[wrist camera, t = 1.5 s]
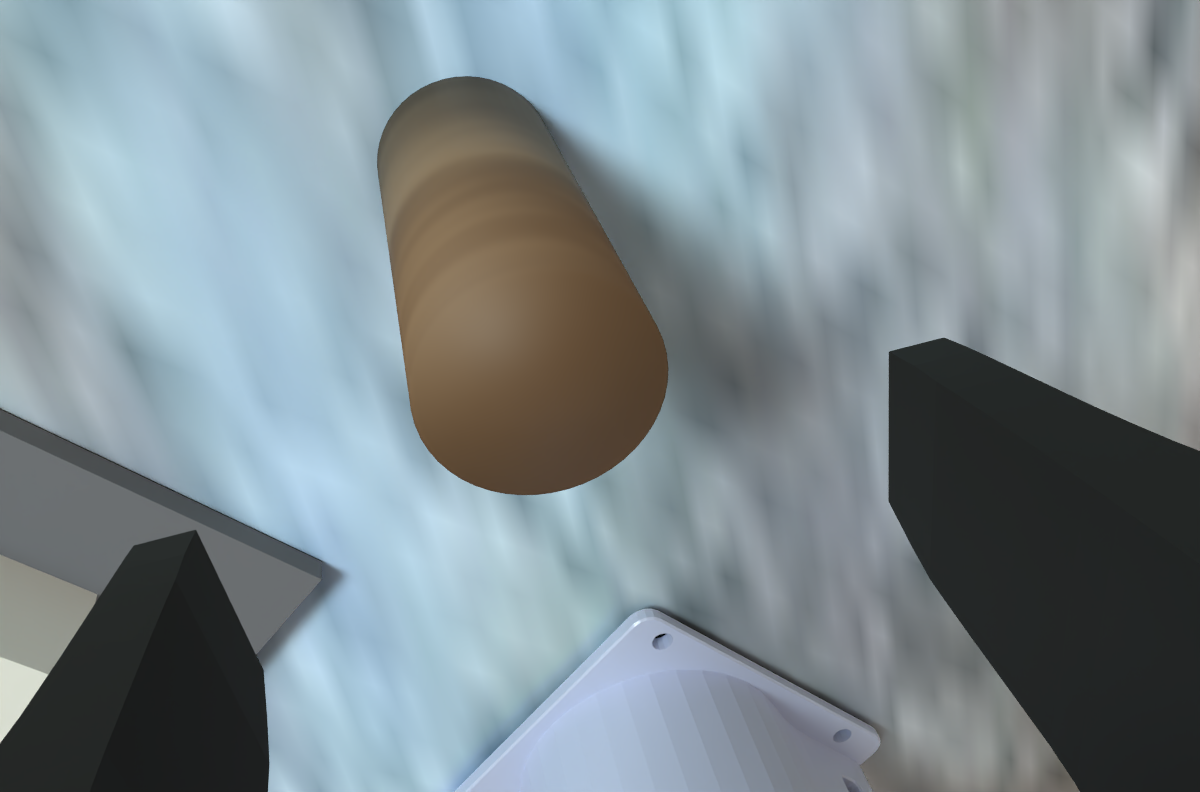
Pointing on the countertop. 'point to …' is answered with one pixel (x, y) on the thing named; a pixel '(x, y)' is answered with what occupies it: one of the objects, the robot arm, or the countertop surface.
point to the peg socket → (108, 553)
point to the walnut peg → (510, 297)
